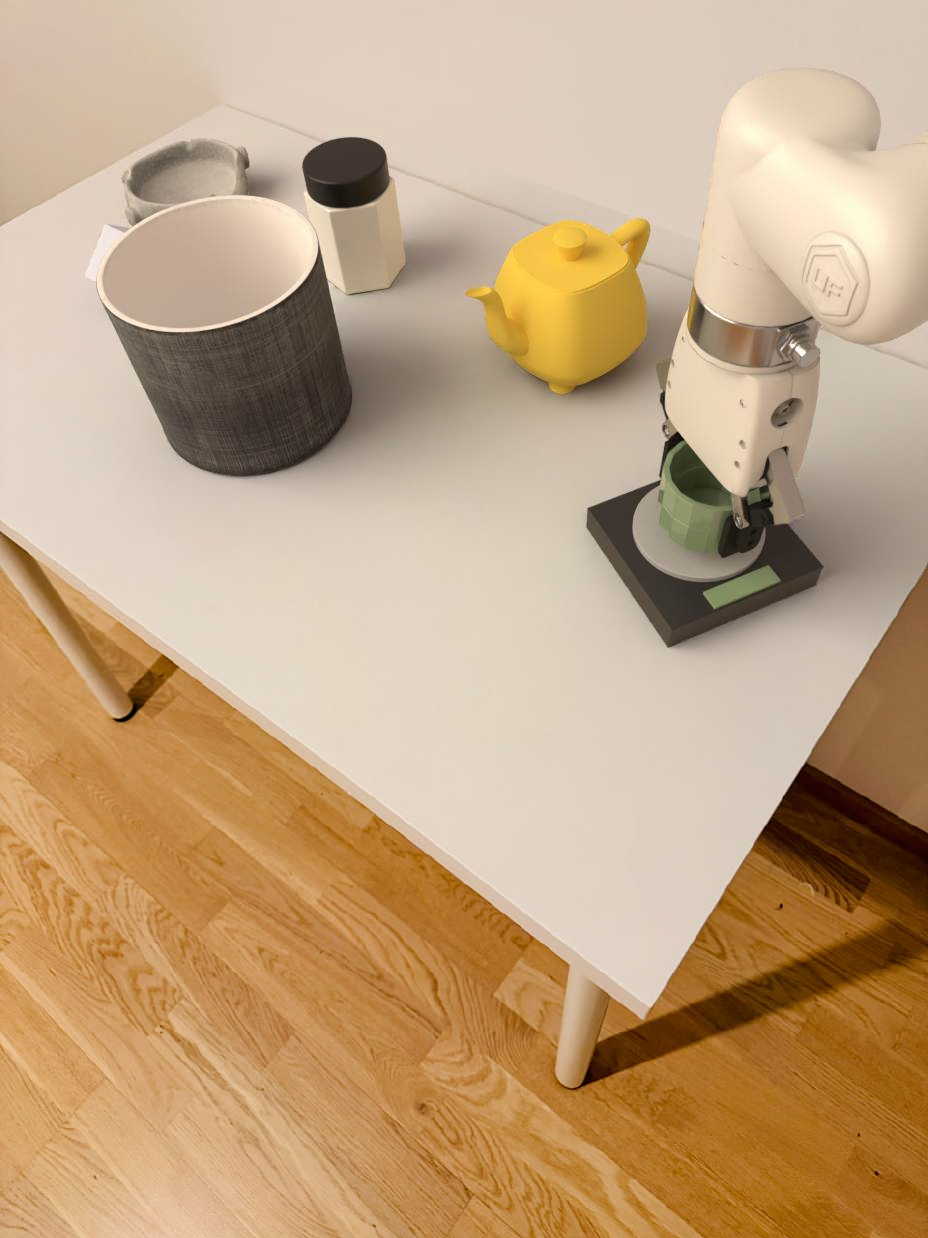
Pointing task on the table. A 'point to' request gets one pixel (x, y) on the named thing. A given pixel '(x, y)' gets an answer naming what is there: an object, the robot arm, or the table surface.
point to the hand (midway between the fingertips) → (707, 509)
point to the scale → (695, 568)
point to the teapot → (569, 301)
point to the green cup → (693, 501)
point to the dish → (183, 176)
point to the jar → (354, 213)
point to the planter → (230, 331)
